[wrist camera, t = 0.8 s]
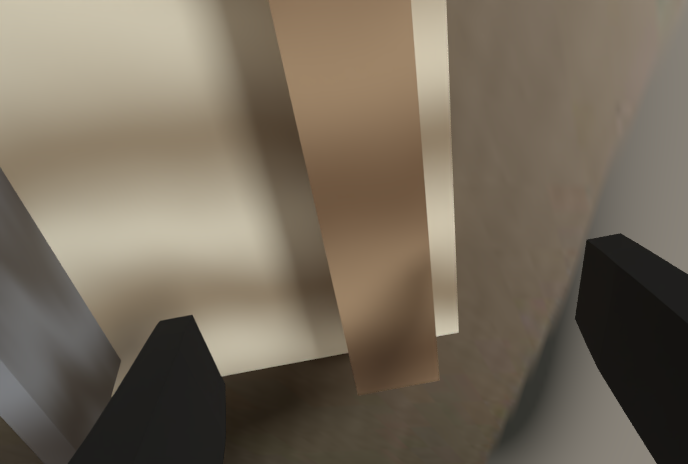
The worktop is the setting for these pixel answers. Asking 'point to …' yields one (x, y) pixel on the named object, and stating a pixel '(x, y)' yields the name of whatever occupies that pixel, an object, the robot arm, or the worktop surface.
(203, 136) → the board
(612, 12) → the worktop surface
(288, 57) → the walnut bar
